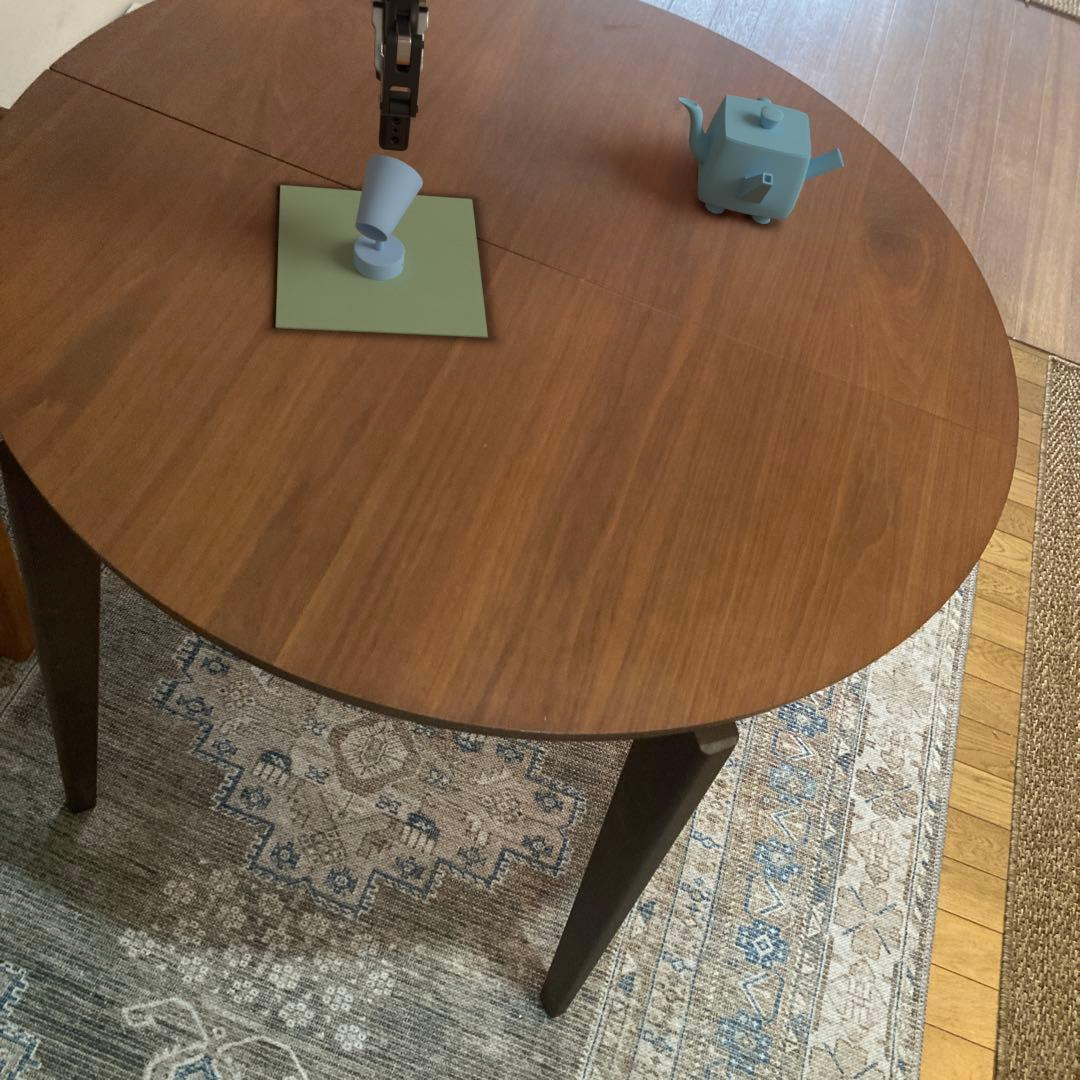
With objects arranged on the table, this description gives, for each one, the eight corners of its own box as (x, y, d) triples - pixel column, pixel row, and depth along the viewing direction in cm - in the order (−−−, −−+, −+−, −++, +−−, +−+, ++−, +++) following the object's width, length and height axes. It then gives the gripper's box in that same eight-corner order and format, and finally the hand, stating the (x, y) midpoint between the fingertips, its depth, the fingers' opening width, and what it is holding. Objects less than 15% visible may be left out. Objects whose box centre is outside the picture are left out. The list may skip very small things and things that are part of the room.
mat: (275, 328, 87) (275, 326, 87) (280, 186, 97) (280, 184, 96) (487, 337, 91) (487, 336, 91) (471, 200, 100) (472, 199, 100)
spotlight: (368, 227, 95) (339, 274, 92) (373, 133, 87) (342, 181, 83) (419, 245, 95) (392, 292, 91) (429, 153, 87) (400, 201, 83)
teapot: (815, 178, 113) (855, 95, 104) (822, 264, 105) (865, 182, 96) (655, 141, 111) (683, 53, 103) (649, 226, 103) (678, 138, 95)
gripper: (347, -166, 71) (341, 54, 84) (350, -54, 63) (343, 168, 77) (456, -149, 73) (433, 64, 86) (472, -39, 65) (444, 176, 78)
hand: (391, 112), depth 81 cm, fingers open, 8 cm apart
